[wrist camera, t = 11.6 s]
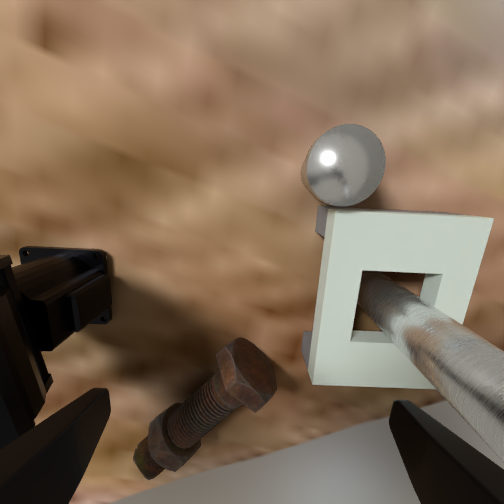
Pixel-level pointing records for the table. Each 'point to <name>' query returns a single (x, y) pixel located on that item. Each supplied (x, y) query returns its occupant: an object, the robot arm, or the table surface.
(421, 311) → the long pin
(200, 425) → the bolt
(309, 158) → the short stub
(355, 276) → the square washer plate
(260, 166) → the table surface
